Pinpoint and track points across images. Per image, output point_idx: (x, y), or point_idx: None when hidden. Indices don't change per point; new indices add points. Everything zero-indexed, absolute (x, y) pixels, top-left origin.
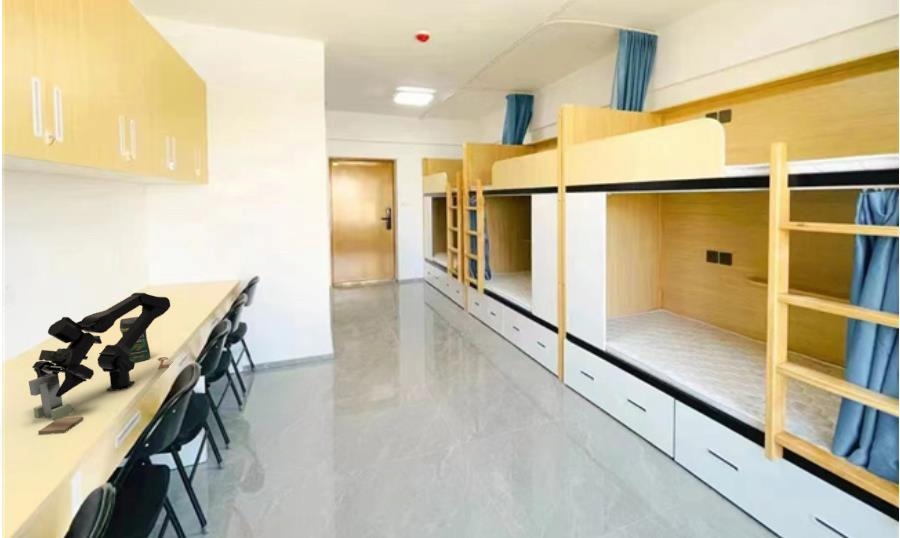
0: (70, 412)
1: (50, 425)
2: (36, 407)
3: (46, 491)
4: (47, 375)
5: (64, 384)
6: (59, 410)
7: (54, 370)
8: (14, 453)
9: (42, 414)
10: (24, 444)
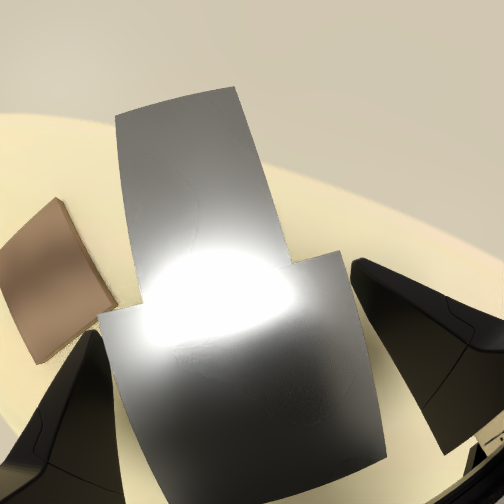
0: None
1: (63, 247)
2: None
3: None
4: (291, 408)
5: (33, 416)
6: None
7: (442, 501)
8: (19, 124)
9: None
10: (39, 151)
